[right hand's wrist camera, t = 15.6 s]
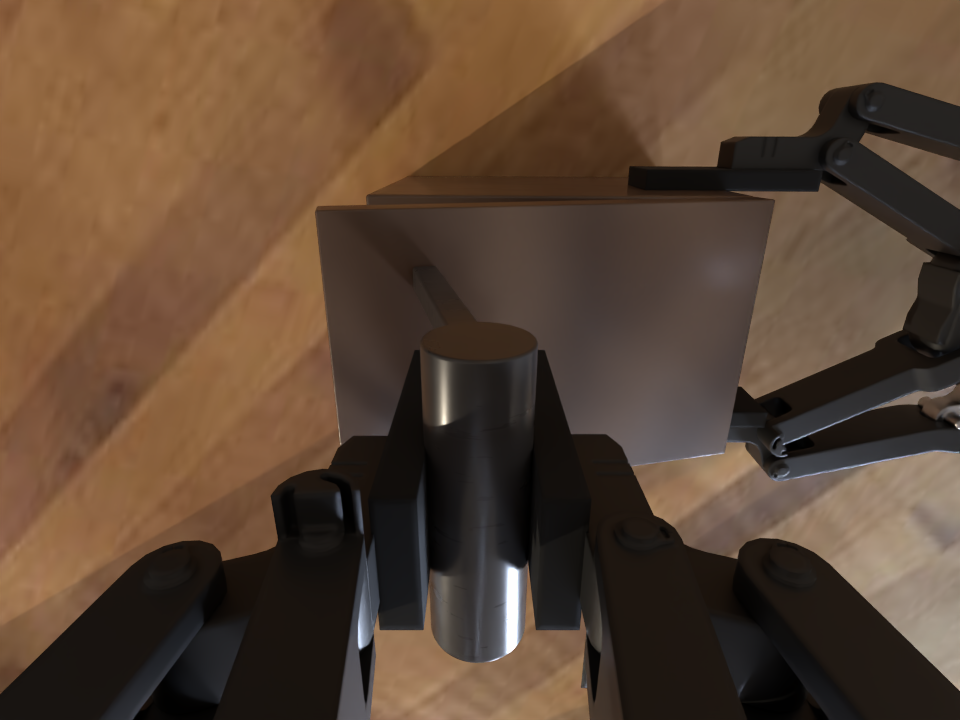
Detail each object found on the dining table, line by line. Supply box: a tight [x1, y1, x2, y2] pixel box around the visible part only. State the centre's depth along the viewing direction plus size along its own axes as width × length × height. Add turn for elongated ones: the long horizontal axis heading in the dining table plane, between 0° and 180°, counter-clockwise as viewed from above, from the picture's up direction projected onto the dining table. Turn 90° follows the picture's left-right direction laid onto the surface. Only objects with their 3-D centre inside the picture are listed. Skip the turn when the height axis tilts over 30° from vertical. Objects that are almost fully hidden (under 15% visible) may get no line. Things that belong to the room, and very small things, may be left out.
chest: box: [366, 176, 753, 205], centre depth 25 cm, size 13×9×10 cm
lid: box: [315, 197, 775, 663], centre depth 14 cm, size 14×9×9 cm
